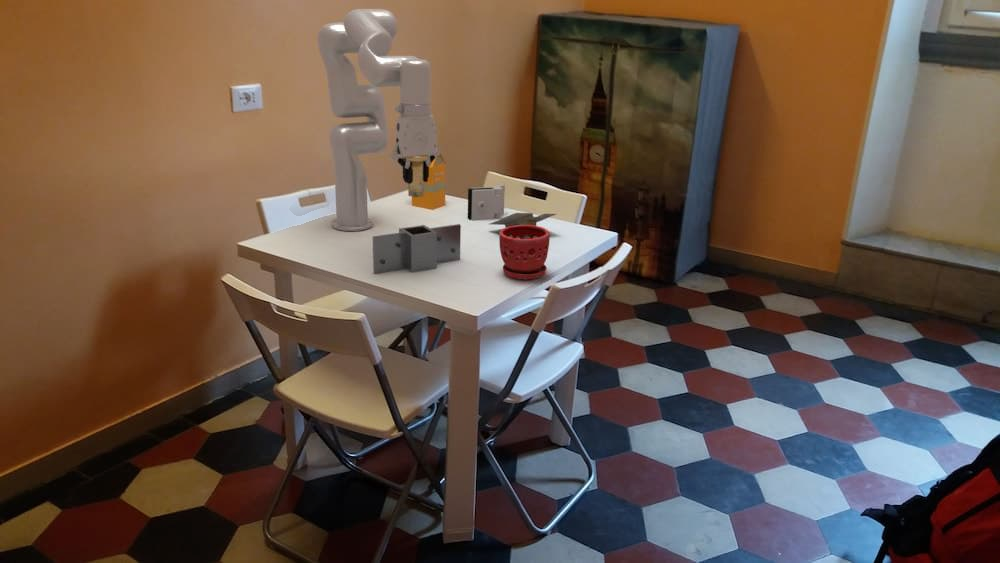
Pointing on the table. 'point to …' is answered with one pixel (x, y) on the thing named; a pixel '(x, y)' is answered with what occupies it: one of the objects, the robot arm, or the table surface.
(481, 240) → the table surface
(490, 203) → the hinge
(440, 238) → the grey socket bracket
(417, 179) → the pin
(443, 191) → the orange juice
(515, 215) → the grey winged shape
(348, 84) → the robot arm
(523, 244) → the plant pot
